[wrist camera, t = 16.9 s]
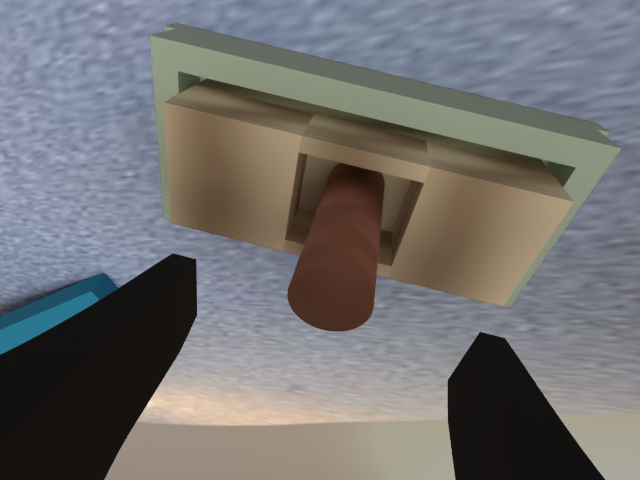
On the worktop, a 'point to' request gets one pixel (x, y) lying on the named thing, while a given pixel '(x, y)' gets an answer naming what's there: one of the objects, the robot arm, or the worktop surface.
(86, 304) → the lever
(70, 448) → the robot arm
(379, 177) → the peg
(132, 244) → the worktop surface
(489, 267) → the notched tan block
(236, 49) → the cradle
